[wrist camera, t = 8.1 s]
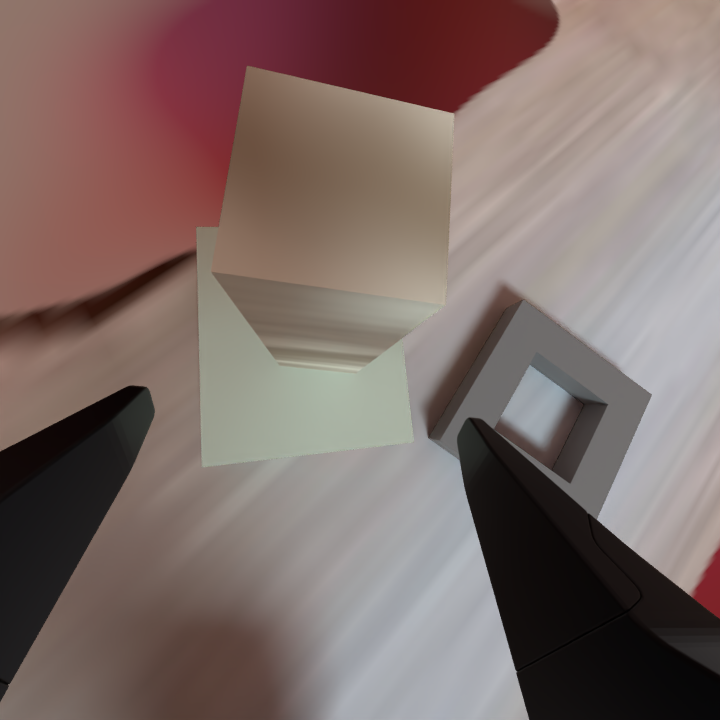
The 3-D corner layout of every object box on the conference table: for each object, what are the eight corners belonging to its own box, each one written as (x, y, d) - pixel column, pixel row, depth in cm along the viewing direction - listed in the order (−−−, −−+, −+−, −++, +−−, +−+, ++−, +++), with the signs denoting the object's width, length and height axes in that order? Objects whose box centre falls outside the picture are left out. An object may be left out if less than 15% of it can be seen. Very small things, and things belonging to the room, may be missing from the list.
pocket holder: (561, 532, 23) (585, 544, 21) (428, 438, 22) (439, 440, 20) (625, 395, 25) (651, 394, 23) (506, 308, 25) (523, 299, 23)
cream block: (355, 373, 19) (446, 305, 6) (279, 365, 18) (210, 271, 6) (361, 303, 20) (454, 114, 7) (289, 293, 19) (247, 65, 6)
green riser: (400, 437, 22) (413, 442, 19) (217, 458, 20) (202, 467, 17) (379, 249, 24) (389, 227, 21) (211, 251, 22) (196, 226, 19)
